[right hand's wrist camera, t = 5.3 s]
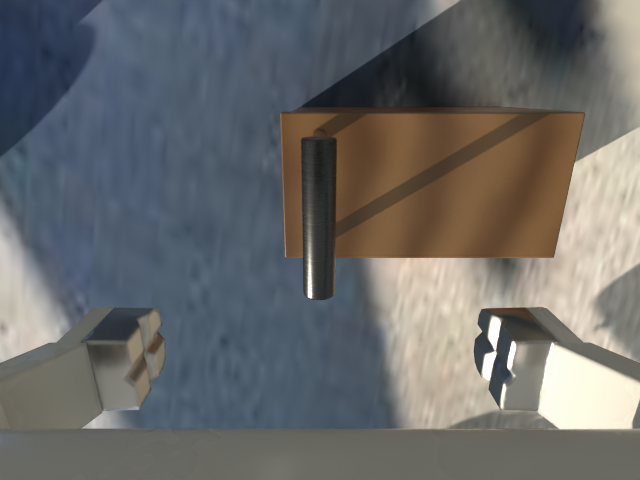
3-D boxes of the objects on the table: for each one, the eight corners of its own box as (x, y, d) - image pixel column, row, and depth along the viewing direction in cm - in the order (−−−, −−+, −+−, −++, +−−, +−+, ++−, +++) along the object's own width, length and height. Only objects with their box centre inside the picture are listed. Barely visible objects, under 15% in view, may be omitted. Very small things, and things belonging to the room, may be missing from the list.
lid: (286, 251, 28) (272, 315, 20) (282, 111, 25) (263, 119, 17) (544, 251, 28) (635, 315, 20) (573, 111, 25) (696, 119, 17)
